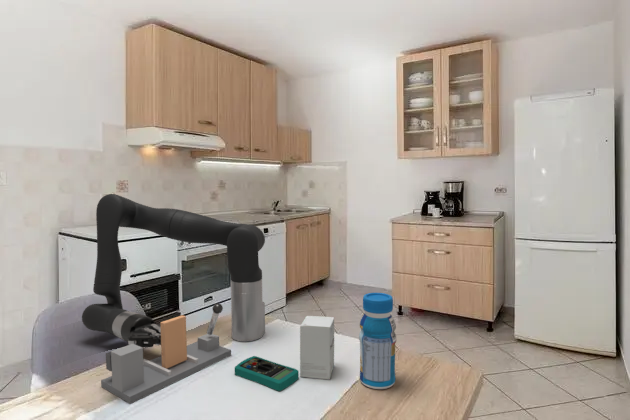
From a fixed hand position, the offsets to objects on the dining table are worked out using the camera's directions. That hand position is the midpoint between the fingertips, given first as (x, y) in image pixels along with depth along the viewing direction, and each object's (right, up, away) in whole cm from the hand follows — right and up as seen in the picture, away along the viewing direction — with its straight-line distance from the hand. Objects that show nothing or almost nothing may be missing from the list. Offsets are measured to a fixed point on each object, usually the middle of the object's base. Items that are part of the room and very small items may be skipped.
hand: (172, 342), depth 96 cm
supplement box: (+36, -7, 0) cm, 36 cm away
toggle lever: (+6, -2, +10) cm, 12 cm away
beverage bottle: (+49, -7, -5) cm, 50 cm away
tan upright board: (+1, -5, 0) cm, 5 cm away
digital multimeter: (+23, -8, -3) cm, 25 cm away
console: (-1, -7, +1) cm, 7 cm away
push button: (-10, -3, -7) cm, 13 cm away
